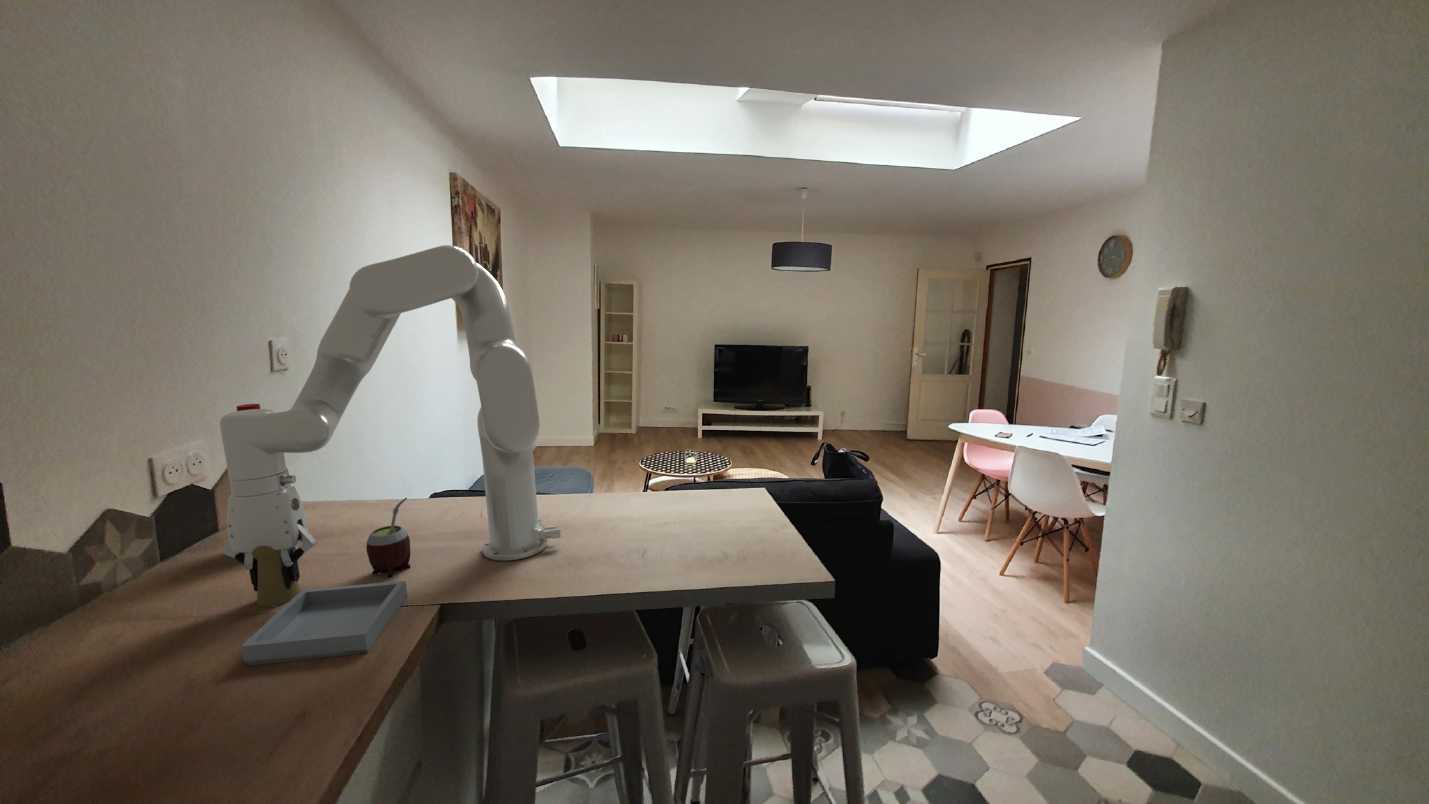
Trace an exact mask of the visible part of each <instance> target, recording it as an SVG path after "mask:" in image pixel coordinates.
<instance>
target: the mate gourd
mask: <svg viewBox="0 0 1429 804" xmlns="http://www.w3.org/2000/svg"><path fill="white" fill-rule="evenodd" d="M407 499H408V497H405V498H404V499H402V500H400V501H399V502H398V503H397V504H396V505H395V507H394V508H393V510H392V519H391V524H390V525H387V526H383V527H379V528H377V529H374V530H373V531H372V532H370V534H369V536H368V537H367V541H366V554H367V557H368V561H369V563H370V565H371V567H372V572H371V573H372V575H373V576H374V574H376V575H379V574H378V573H381V574H386V573H387V577H386V578H387V579H391V578H393V577H394V574H395V572H397V571H403V570H402V569H404V570H407V569H406V568H409V569H411V564H410V558H411V554H412V553H411V540H410V539H411V538H410V537H409V536H410V535H409V534H408V532H407V531H406V529H404V527H402V526H400V525H395V523H396V519H397V514H398V513H399V508H400V507H401V505H402V504H403V503H404V502H405V501H406V500H407ZM393 573H394V574H393Z"/></svg>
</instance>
